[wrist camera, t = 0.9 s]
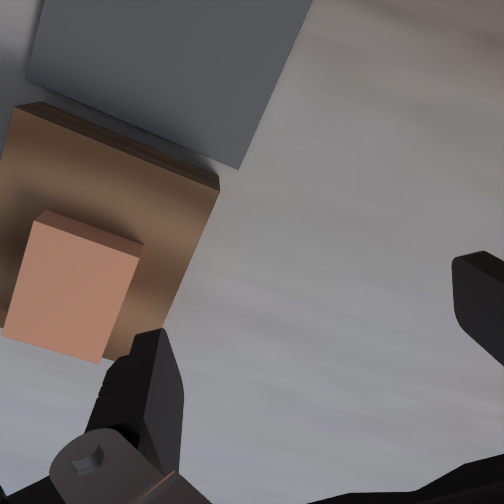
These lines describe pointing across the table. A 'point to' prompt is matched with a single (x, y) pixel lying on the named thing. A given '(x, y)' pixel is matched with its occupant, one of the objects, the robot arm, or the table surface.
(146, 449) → the robot arm
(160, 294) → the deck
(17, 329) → the salmon pink rectangular block
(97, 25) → the mat
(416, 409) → the table surface
